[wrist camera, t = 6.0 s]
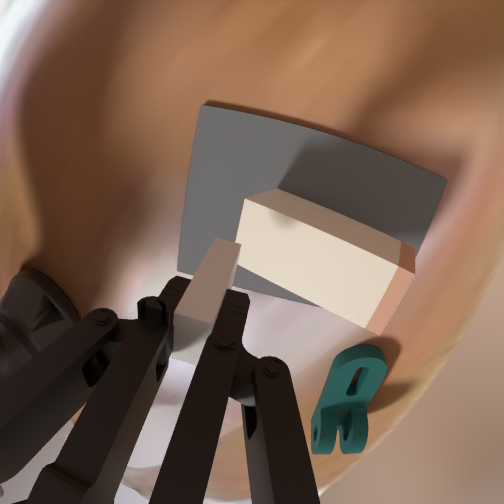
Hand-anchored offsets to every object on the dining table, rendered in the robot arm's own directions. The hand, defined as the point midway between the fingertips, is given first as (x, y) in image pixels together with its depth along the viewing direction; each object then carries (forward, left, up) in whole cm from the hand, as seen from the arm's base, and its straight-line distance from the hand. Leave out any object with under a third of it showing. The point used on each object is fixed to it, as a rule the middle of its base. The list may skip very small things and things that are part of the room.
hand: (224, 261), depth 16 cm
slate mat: (+5, 0, -10) cm, 11 cm away
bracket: (+18, -21, -10) cm, 30 cm away
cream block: (+1, 0, -7) cm, 7 cm away
